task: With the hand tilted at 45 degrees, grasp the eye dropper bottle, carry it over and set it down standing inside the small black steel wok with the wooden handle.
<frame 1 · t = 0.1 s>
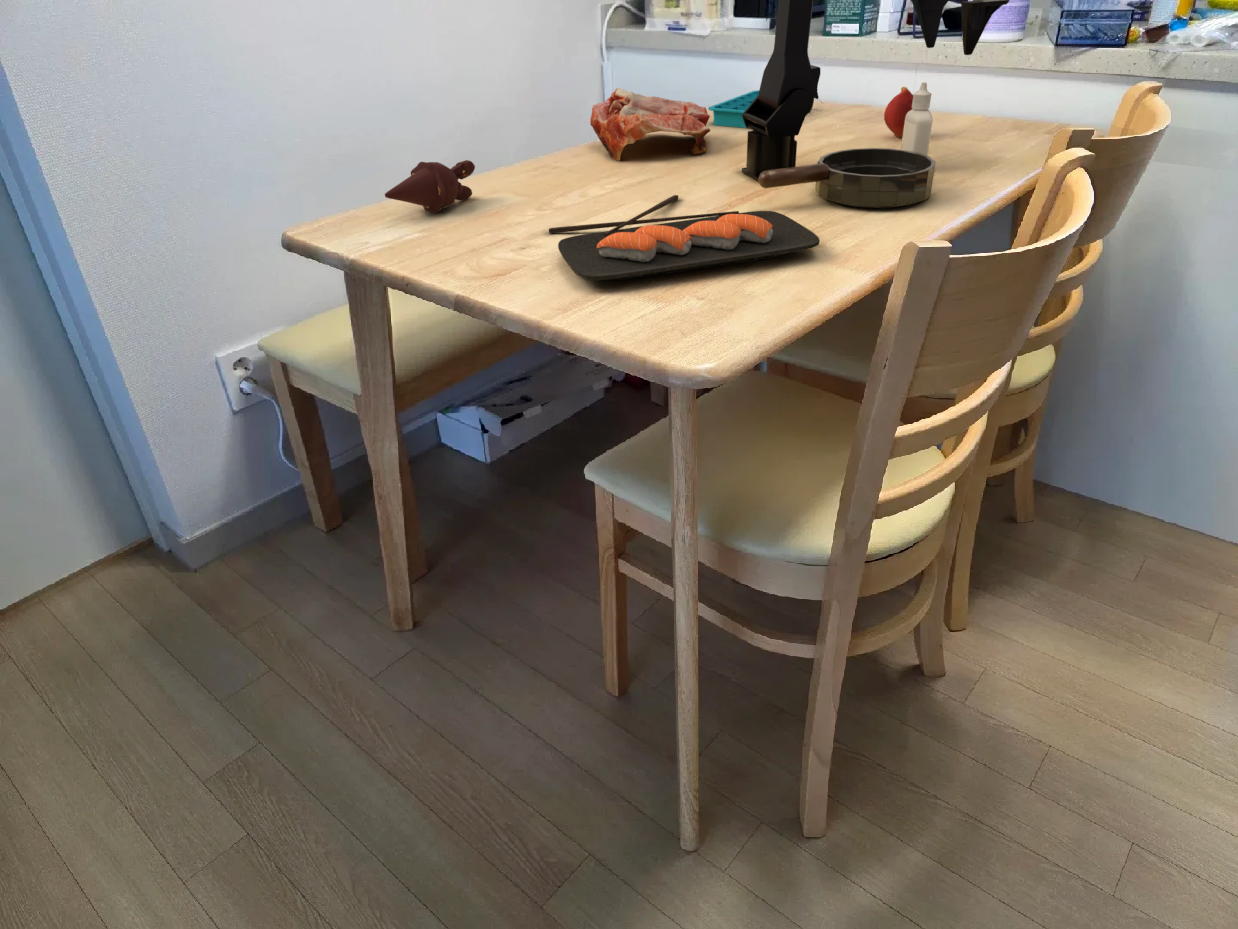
hand: (948, 51, 123), 15 cm above the table, tool pointing down, fingers open, 9 cm apart
onion: (899, 138, 141), on the table
wok: (872, 194, 114), on the table
sushi plate: (665, 238, 103), on the table
wok handle: (794, 175, 109), point 3 cm above the table
meat: (652, 148, 143), on the table
icecream: (435, 211, 117), on the table
ice cube tray: (757, 118, 160), on the table
eye dropper bottle: (911, 170, 124), on the table
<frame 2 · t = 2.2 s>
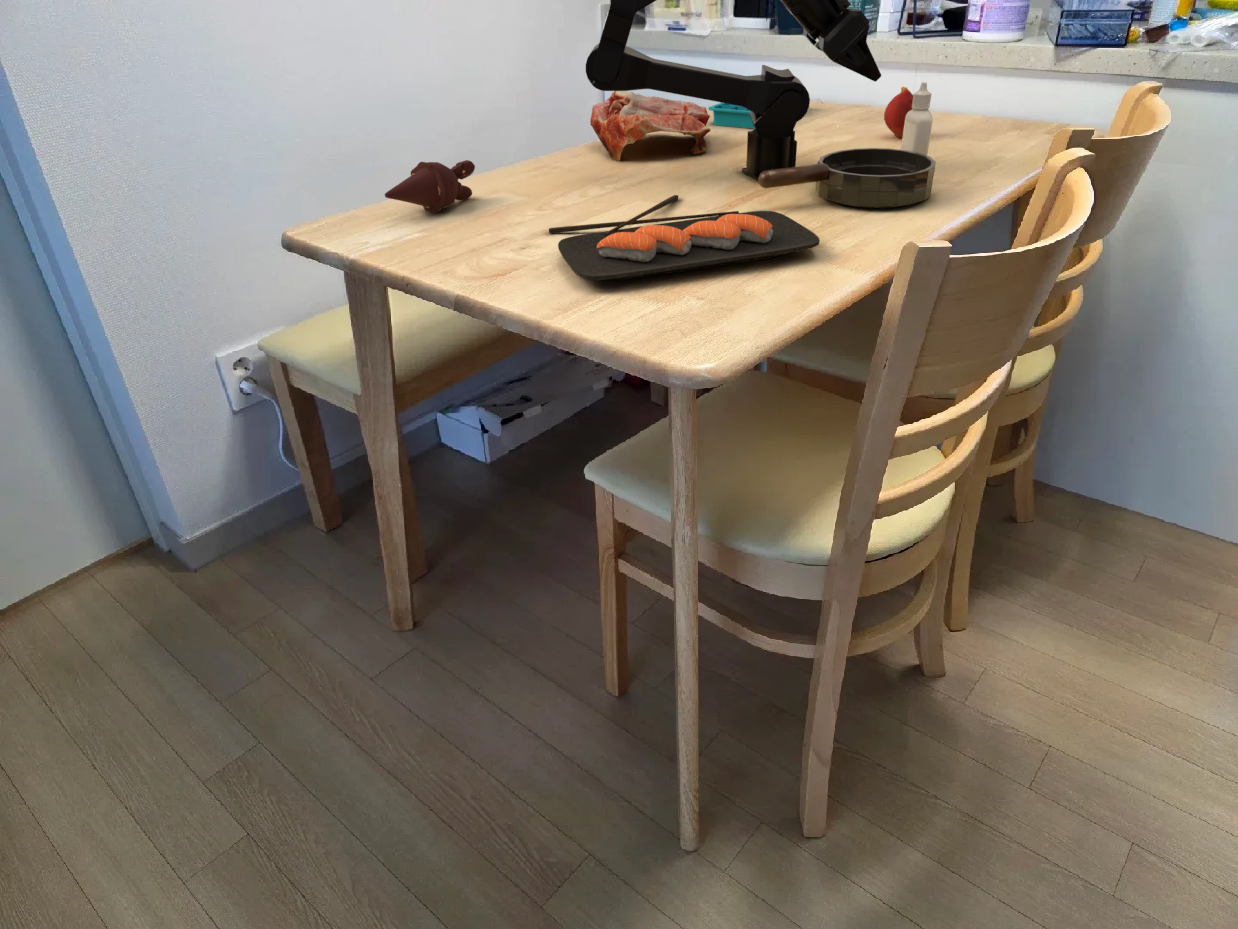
hand: (871, 73, 117), 14 cm above the table, tool tilted 45°, fingers open, 9 cm apart
nothing on the table moved.
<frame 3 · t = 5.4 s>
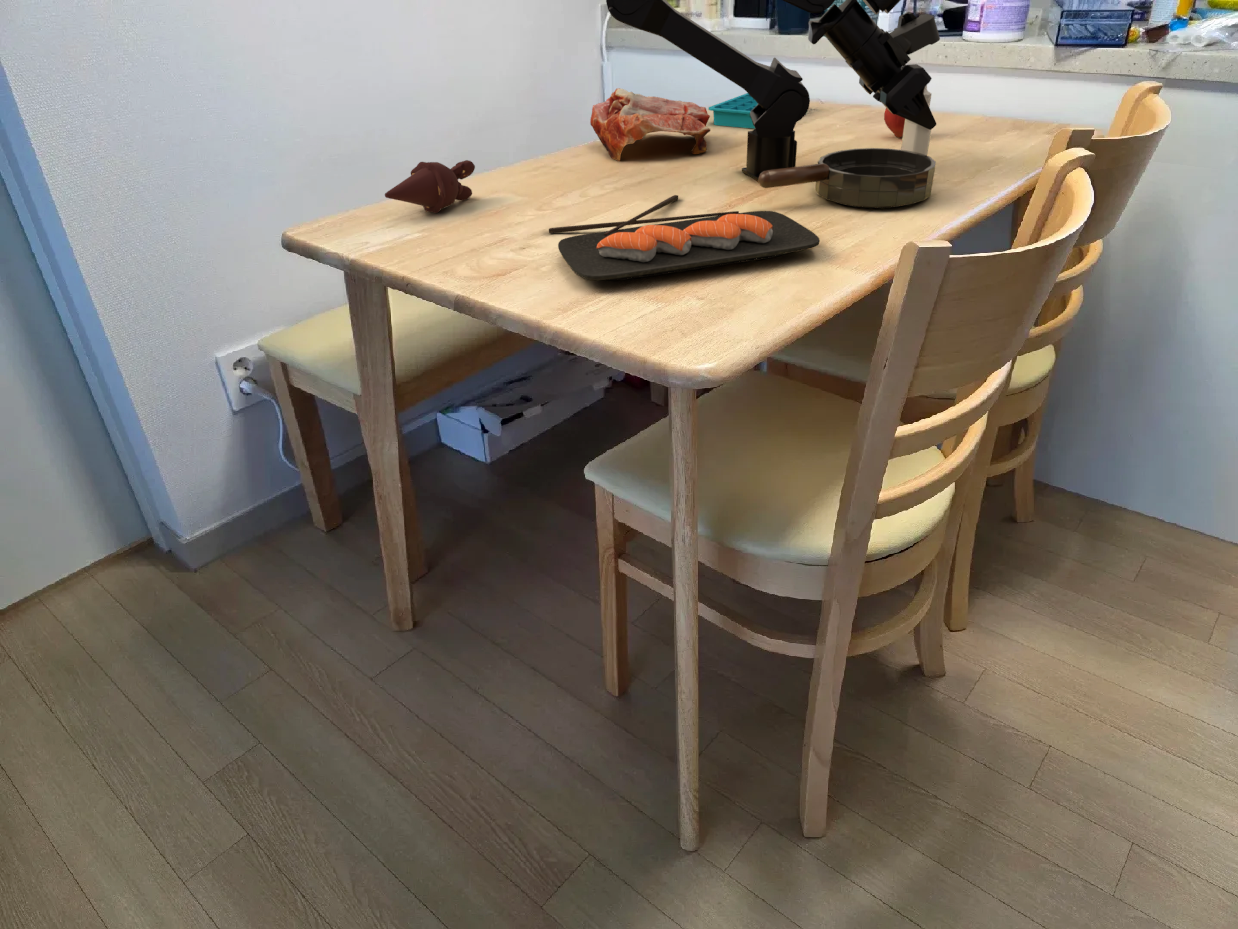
hand: (928, 122, 120), 7 cm above the table, tool tilted 45°, fingers closed on eye dropper bottle, 5 cm apart
eye dropper bottle: (911, 170, 124), on the table, touching gripper
everything else where it was.
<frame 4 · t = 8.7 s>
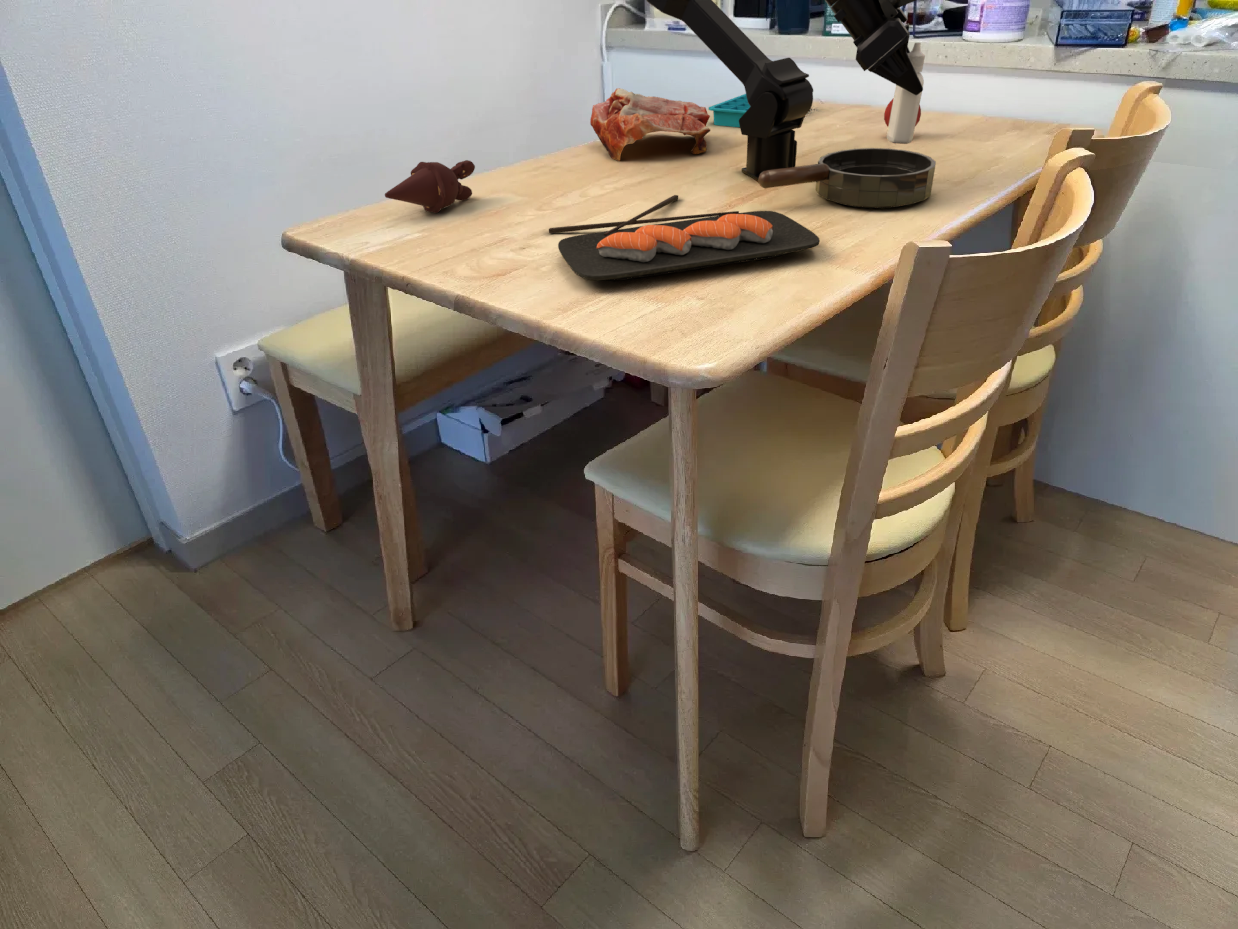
hand: (919, 88, 109), 13 cm above the table, tool tilted 40°, fingers closed on eye dropper bottle, 5 cm apart
eye dropper bottle: (898, 141, 114), point 6 cm above the table, touching gripper
everything else where it was.
when the fingers open (7 cm above the table, at t = 12.0 s): eye dropper bottle stays where it is, resting on wok.
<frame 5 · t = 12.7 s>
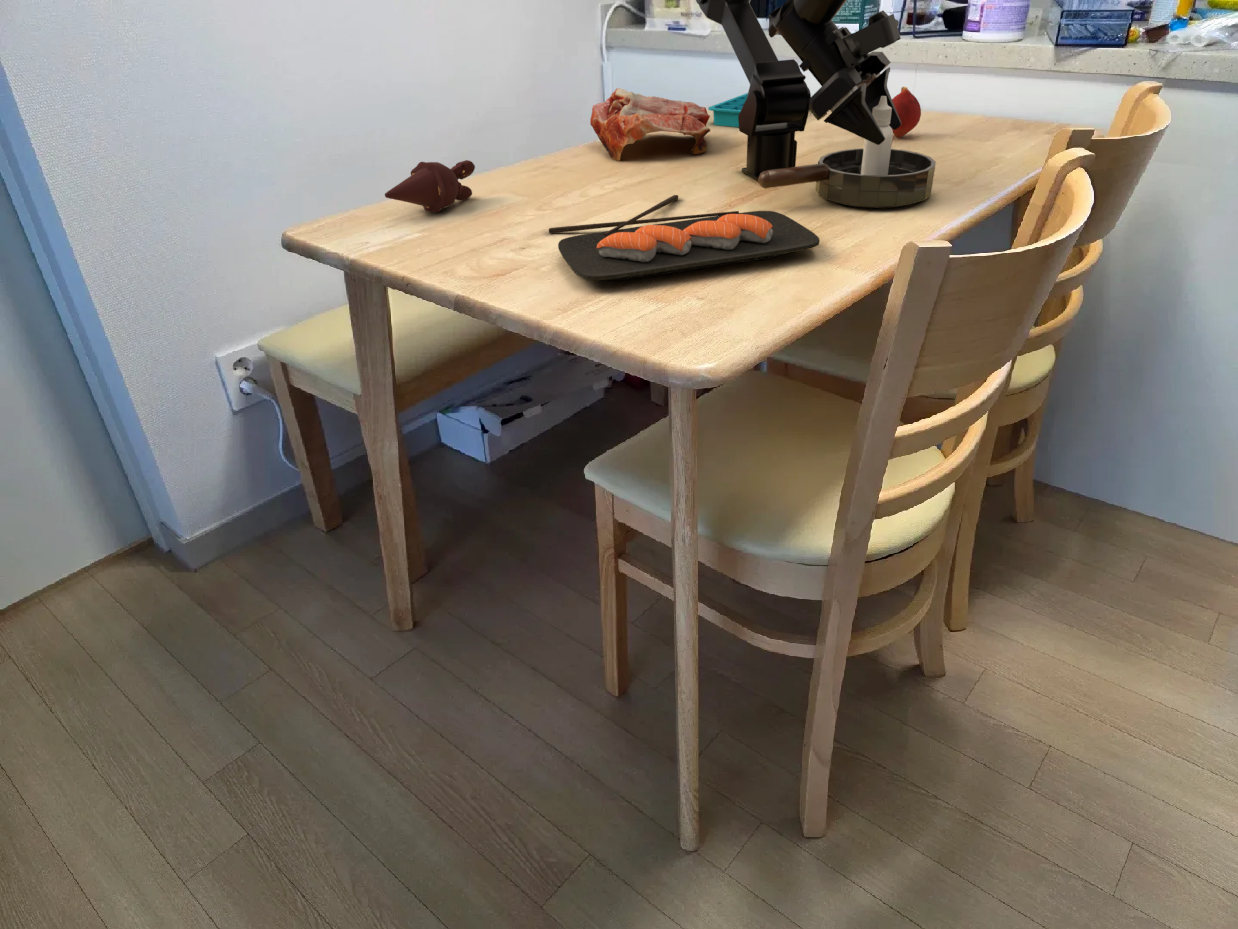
hand: (890, 134, 109), 8 cm above the table, tool tilted 45°, fingers open, 9 cm apart
eye dropper bottle: (872, 191, 114), resting on wok
everything else where it was.
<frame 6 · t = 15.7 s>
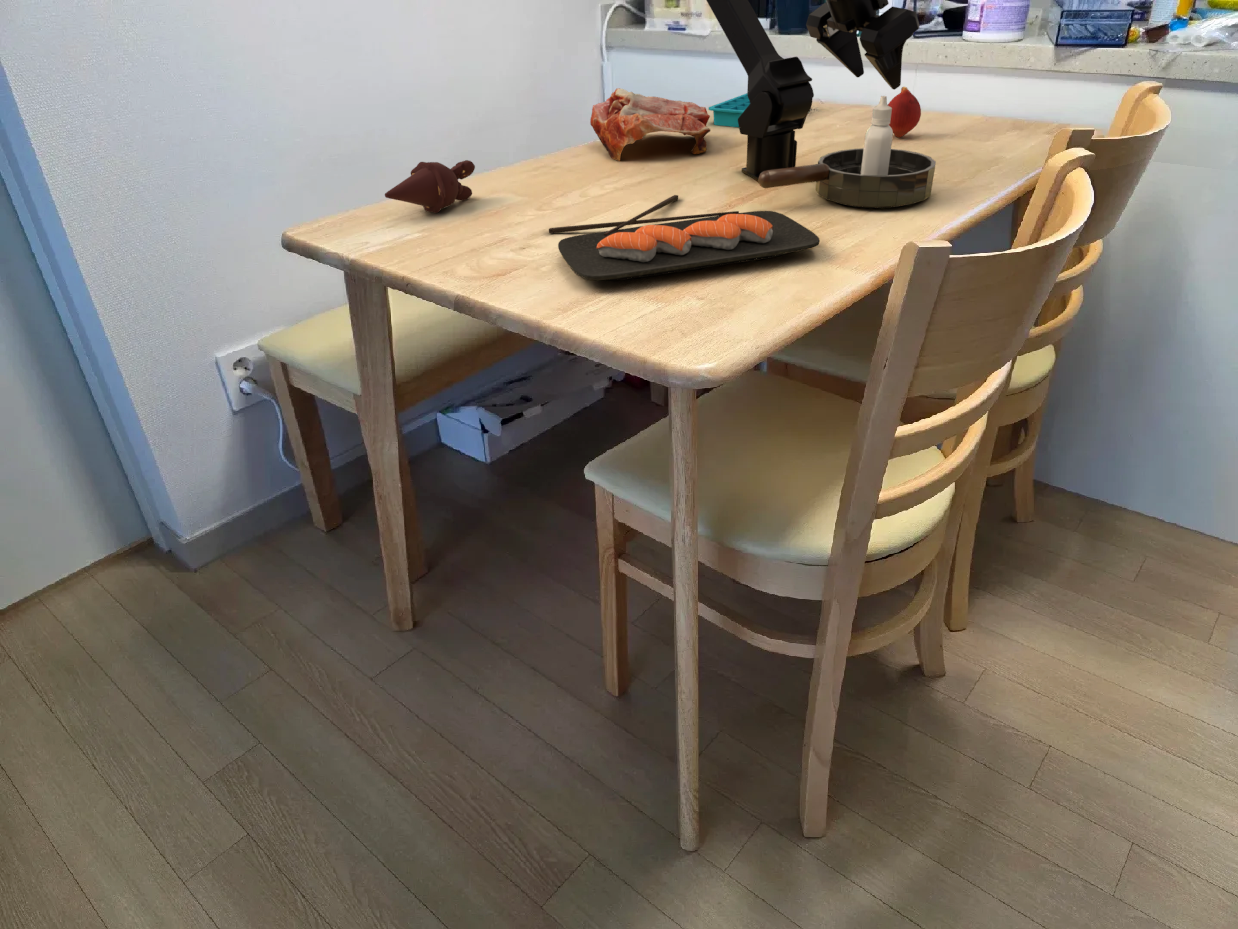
hand: (878, 81, 114), 13 cm above the table, tool tilted 30°, fingers open, 9 cm apart
nothing on the table moved.
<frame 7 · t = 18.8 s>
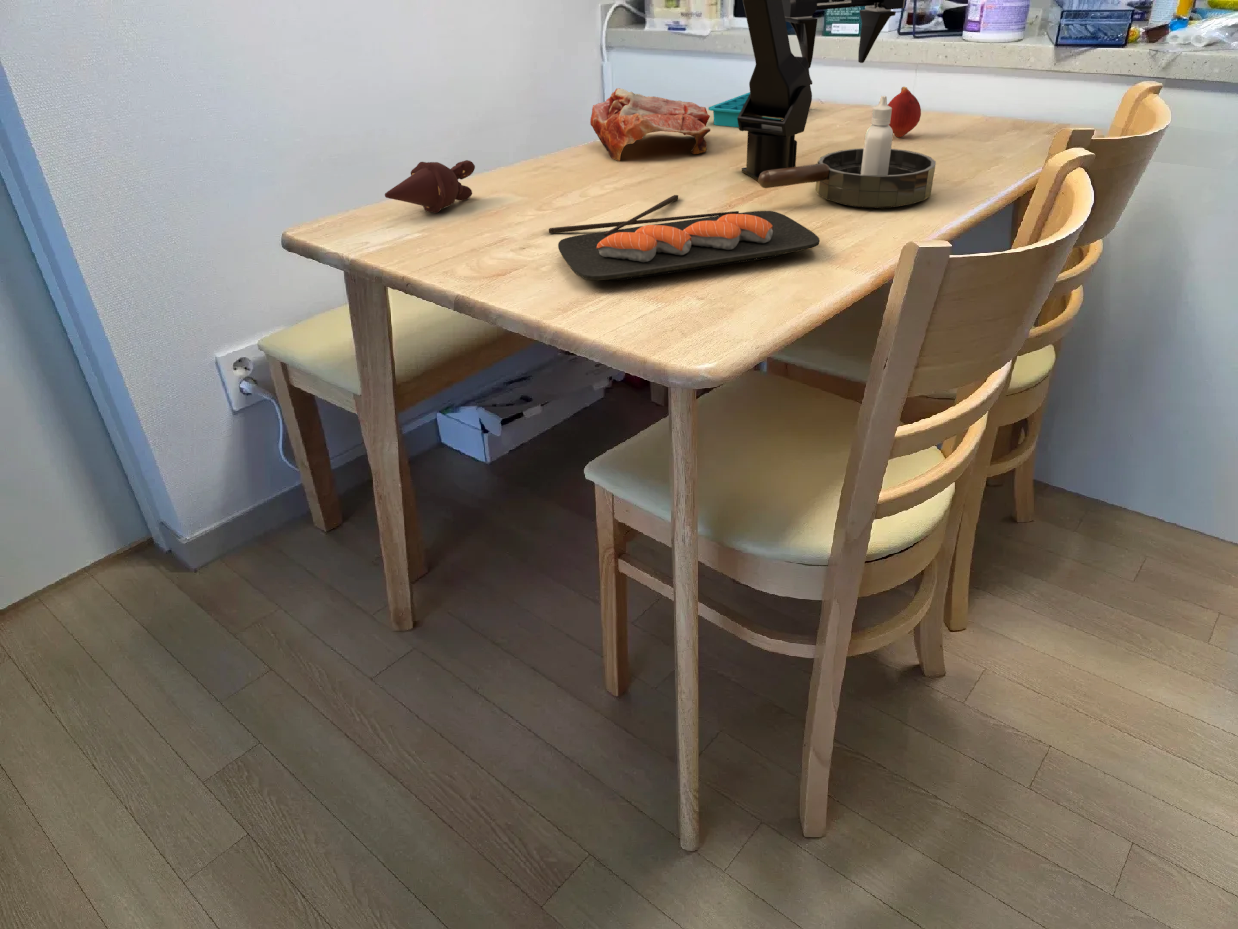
hand: (834, 65, 127), 13 cm above the table, tool pointing down, fingers open, 9 cm apart
nothing on the table moved.
at the end: eye dropper bottle inside the target area in the wok (0.2 cm from its centre), point 0.4 cm above the wok's base; eye dropper bottle tilted 0°; the gripper is holding nothing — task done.
